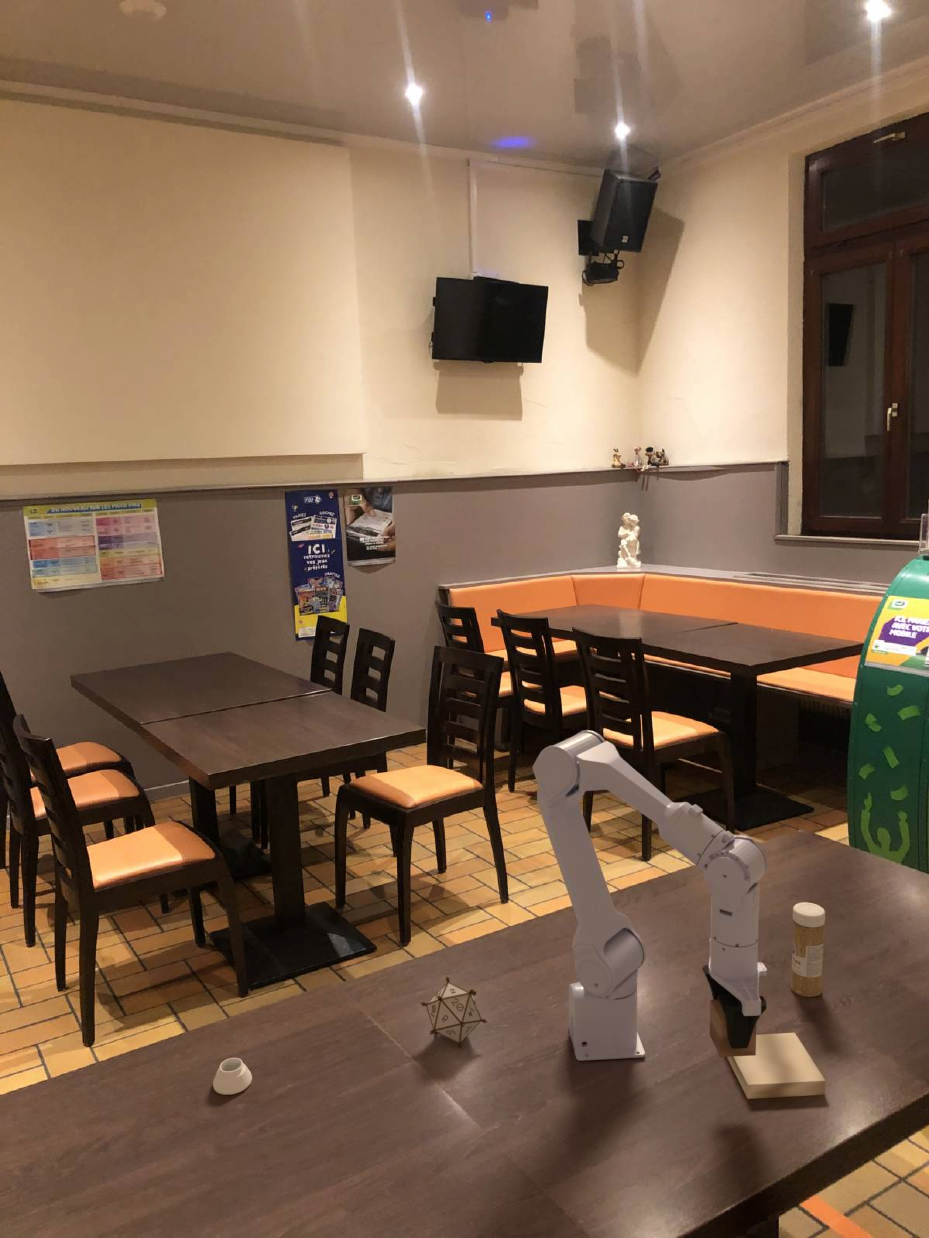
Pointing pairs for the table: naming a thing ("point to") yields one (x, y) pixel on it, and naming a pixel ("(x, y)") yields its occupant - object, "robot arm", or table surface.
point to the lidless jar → (232, 1077)
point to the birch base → (778, 1069)
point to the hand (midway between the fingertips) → (732, 1034)
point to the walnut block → (721, 1037)
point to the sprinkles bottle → (807, 949)
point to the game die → (453, 1012)
